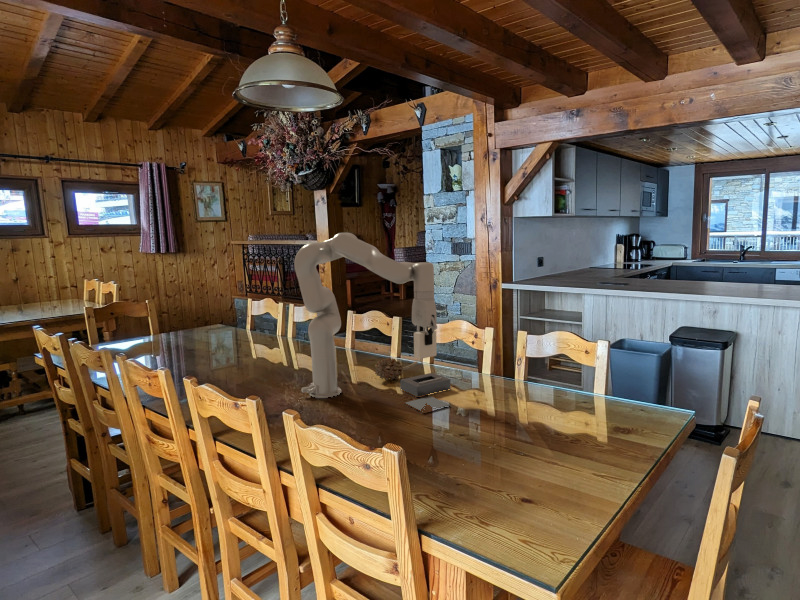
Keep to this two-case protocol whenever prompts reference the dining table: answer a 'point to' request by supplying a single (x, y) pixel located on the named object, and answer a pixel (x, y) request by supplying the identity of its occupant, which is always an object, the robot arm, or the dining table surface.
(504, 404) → the dining table surface
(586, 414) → the dining table surface
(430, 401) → the mat
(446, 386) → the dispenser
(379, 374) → the pine cone
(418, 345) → the cream upright block
